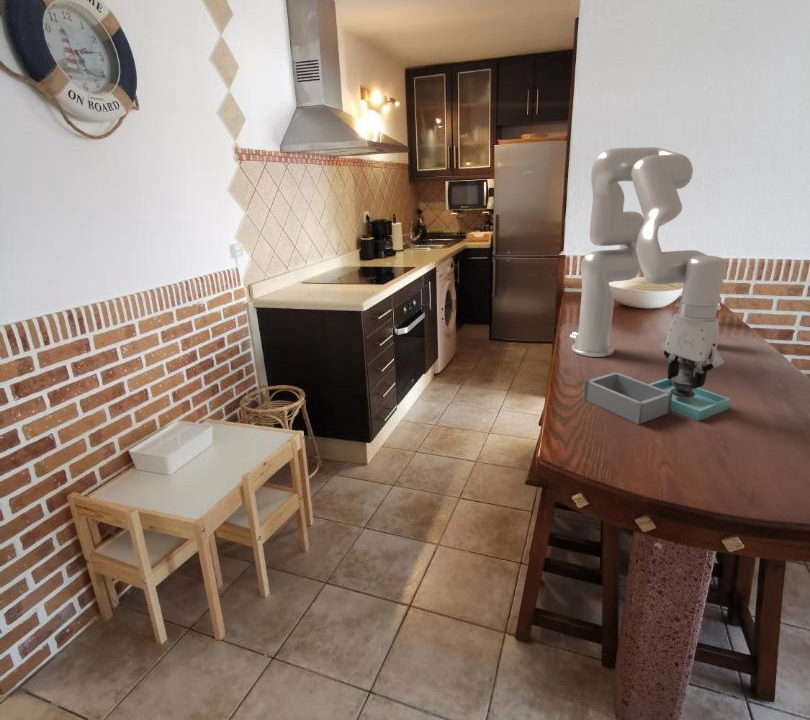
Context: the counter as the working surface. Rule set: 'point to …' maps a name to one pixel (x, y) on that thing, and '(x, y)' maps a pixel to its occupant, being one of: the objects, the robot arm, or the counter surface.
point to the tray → (695, 401)
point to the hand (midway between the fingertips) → (684, 381)
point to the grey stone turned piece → (684, 380)
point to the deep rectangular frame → (628, 397)
